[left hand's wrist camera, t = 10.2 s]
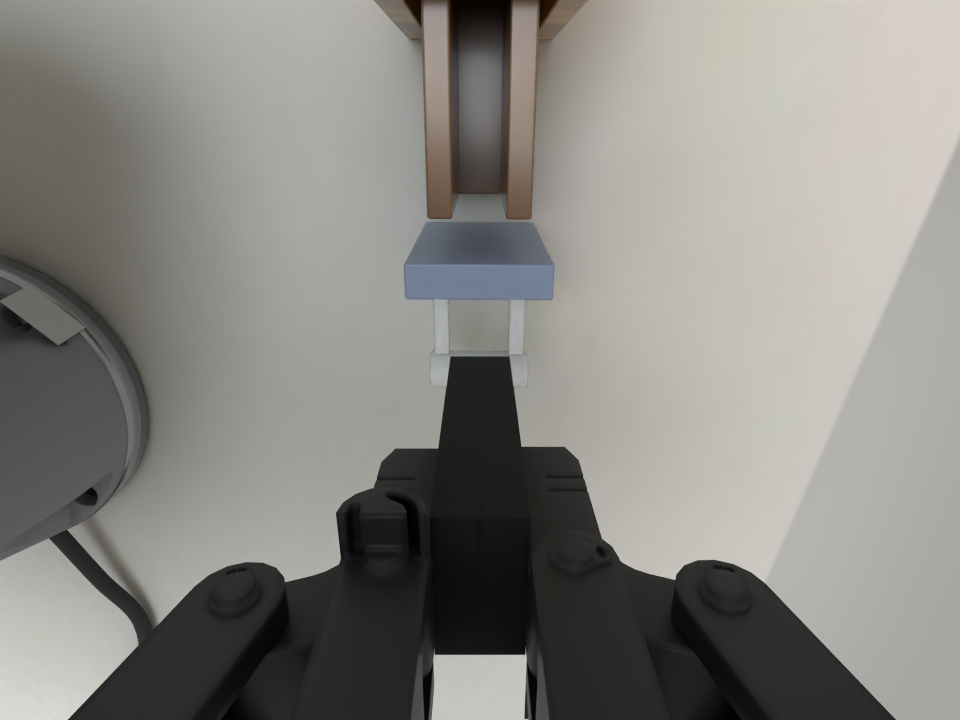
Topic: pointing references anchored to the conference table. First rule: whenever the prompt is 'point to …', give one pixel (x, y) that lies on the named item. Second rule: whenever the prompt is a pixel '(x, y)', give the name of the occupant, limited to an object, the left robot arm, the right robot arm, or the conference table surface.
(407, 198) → the conference table surface
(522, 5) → the drawer
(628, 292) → the conference table surface
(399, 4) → the tan wooden box
